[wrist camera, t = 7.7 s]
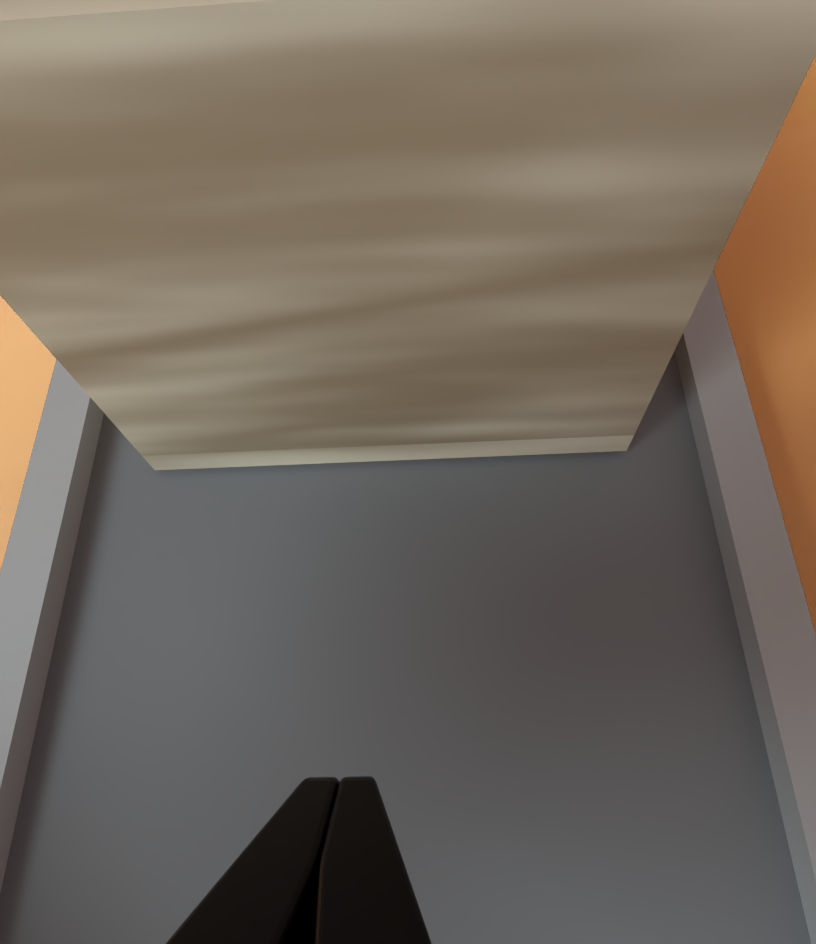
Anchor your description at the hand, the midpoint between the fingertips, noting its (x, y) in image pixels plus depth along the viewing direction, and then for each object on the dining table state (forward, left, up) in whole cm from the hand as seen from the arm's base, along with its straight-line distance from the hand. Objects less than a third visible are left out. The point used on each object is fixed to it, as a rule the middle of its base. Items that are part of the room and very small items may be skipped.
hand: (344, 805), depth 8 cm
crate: (+12, 0, -6) cm, 14 cm away
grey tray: (+7, 0, -7) cm, 11 cm away
